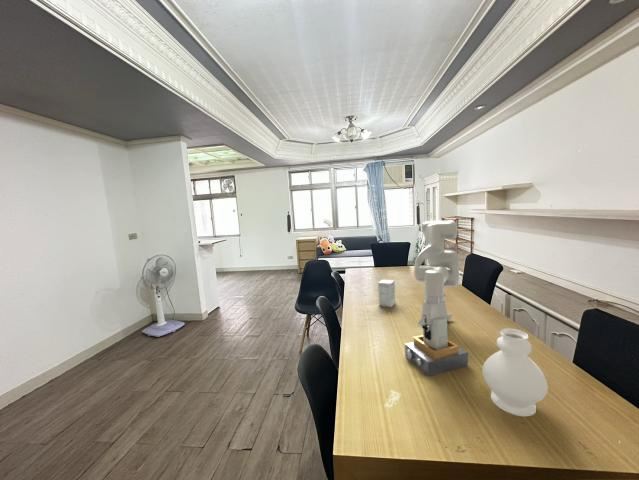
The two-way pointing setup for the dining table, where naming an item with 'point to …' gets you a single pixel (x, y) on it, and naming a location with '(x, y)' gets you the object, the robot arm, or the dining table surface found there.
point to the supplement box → (386, 293)
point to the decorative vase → (514, 375)
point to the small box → (437, 334)
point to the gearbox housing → (435, 356)
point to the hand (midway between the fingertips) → (434, 336)
